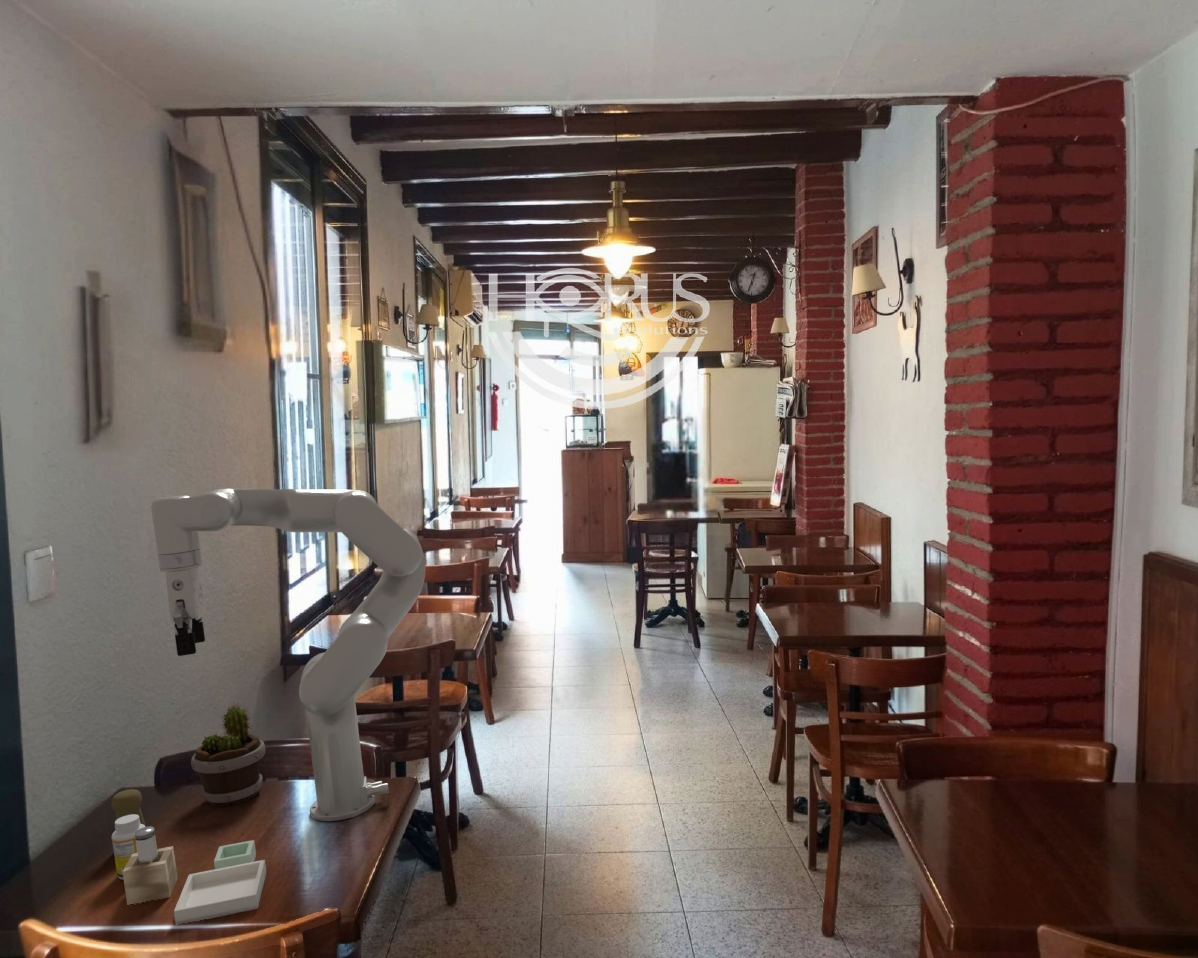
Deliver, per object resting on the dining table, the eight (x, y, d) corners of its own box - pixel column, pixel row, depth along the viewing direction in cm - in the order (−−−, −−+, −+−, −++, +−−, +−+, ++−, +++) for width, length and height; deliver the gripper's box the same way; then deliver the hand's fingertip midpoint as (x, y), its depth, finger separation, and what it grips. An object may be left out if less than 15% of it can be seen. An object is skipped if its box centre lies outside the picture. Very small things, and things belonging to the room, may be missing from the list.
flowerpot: (234, 815, 188) (221, 720, 187) (181, 807, 195) (168, 715, 193) (286, 786, 201) (274, 696, 200) (234, 779, 208) (223, 693, 206)
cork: (136, 855, 174) (128, 798, 173) (108, 854, 176) (100, 798, 175) (157, 839, 180) (150, 785, 179) (130, 839, 182) (122, 785, 181)
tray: (266, 872, 162) (264, 859, 162) (257, 908, 150) (256, 894, 150) (190, 887, 160) (189, 874, 159) (175, 925, 148) (173, 911, 147)
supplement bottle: (143, 862, 171) (136, 809, 170) (157, 870, 167) (149, 815, 166) (112, 876, 167) (104, 821, 166) (125, 884, 163) (117, 828, 162)
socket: (256, 854, 170) (254, 839, 170) (251, 869, 164) (249, 854, 164) (221, 861, 168) (219, 846, 168) (215, 876, 163) (213, 861, 162)
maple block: (177, 878, 163) (173, 845, 163) (169, 897, 157) (164, 863, 156) (137, 886, 162) (132, 853, 161) (127, 905, 155) (122, 871, 155)
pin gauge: (164, 885, 161) (156, 824, 160) (160, 894, 158) (152, 832, 157) (145, 889, 161) (136, 828, 160) (141, 898, 158) (132, 836, 157)
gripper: (193, 564, 169) (205, 656, 171) (208, 552, 186) (219, 635, 188) (148, 570, 168) (161, 662, 169) (168, 557, 184) (179, 641, 186)
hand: (191, 648), depth 178 cm, fingers open, 9 cm apart
